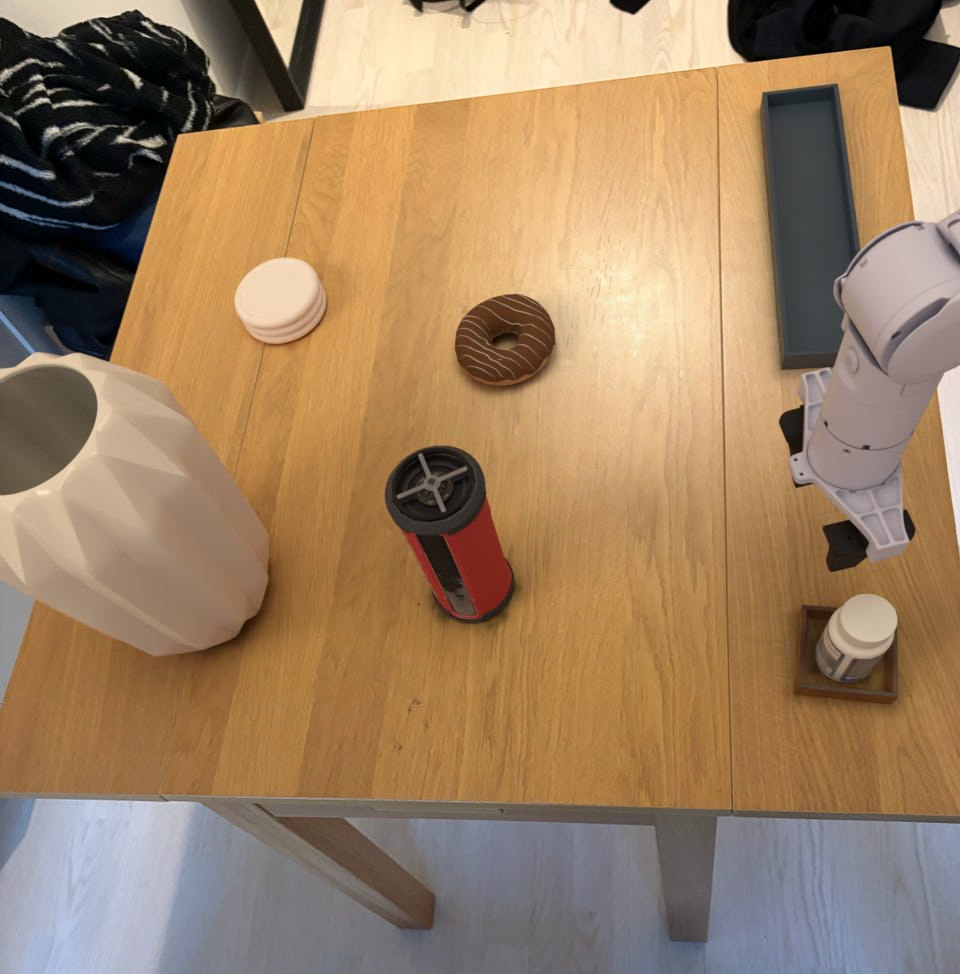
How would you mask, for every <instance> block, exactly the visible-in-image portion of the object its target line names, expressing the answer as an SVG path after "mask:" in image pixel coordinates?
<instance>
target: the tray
mask: <svg viewBox="0 0 960 974" xmlns="http://www.w3.org/2000/svg"><path fill="white" fill-rule="evenodd" d="M841 102H842V101H841V94H840V88H839V83H838V82H837V83H828V84H821V85H812V86H804V87H795V88H787V89H779V90H771V91H763V92H762V93H761V99H760V105H759V106H760V107H759V114H760V127H761V137H762V139H761V140H762V151H763V161H764V174H765V187H766V200H767V211H768V212H767V213H768V224H769V237H770V248H771V249H770V250H771V259H772V271H773V273H772V274H773V285H774V286H773V287H774V298H775V308H776V311H775V312H776V321H777V322H776V323H777V333H778V335H777V336H778V345H779V359H780V369H781V370H796V369H816V368H827V367H830V368H831V367H834V365H835V362H836V358H837V355H838V352H839V349H840V346H841V343H842V340H843V337H844V334H845V332H844V331H843V330H842V328H841V324H842V321H843V318H844V314H845V311H843V310H842V309H841V308H840V306H839V305H838V303H837V301H836V300H835V297H834V292H833V289H834V283H835V280H836V279H837V278H838V277H840V276H842V275H843V274H844V273H845V272H846V271H847V269H848V267H849V265H850V263H851V262H852V260H853V259H854V258H855V256H856V255H857V254H858V253H859V252H860V250H861V244H860V243H861V242H860V237H859V228H858V220H857V214H856V213H857V212H856V205H855V199H854V198H855V197H854V192H853V183H852V177H851V167H850V162H849V154H848V145H847V140H846V132H845V125H844V117H843V110H842V103H841Z"/></svg>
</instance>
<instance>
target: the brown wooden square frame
mask: <svg viewBox="0 0 960 974" xmlns="http://www.w3.org/2000/svg"><path fill="white" fill-rule="evenodd" d="M839 608H840V607H836V606H835V607H834V606H821V605H812V604H811V605H810V604H802V605H801V607H800V610H799V611H798V615H797V617H798V618H797V641H796V663H795V664H796V665H795V668H796V669H795V685H794V687H795V691H794V694H795V695H800V696H809V697H810V696H811V697H819V698H820V697H821V698H829V699H838V700H848V701H858V702H867V703H875V704H885V705H892V704H893V703H894V702H895V701H896V700H897V699H898V698H899V691H898V690H899V687H898V680H899V679H898V675H899V673H898V672H899V671H898V670H899V669H898V665H899V664H898V625H897V626H896V629H895V631H894V638H893V642H892V644H891V646H890V647H889V649H888V650H887V651H886V652H885V691H884V690H883V691H882V690H874V689H872V690H871V689H863V688H853V687H842V686H833V685H823V684H816V683H815V684H814V683H805V678H806V677H805V676H806V675H805V674H806V668H805V667H806V648H807V647H806V646H807V622H808V621H807V619H815V620H827V621H829V620H830V618H831V616H832V615H833V614H834V612H835V611H836V610H837V609H839ZM896 614H897V615H898V612H896Z"/></svg>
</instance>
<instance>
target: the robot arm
mask: <svg viewBox="0 0 960 974" xmlns="http://www.w3.org/2000/svg"><path fill="white" fill-rule="evenodd" d="M833 292H834V297H835V300H836V301H837V303H838V305H839V306H840V308H841V309H842V310H843V311H845V314H844V318H843V321H842V324H841V328H842V330H843V331H844V332H845V334H844V337H843V340H842V343H841V346H840V349H839V352H838V355H837V358H836V362H835V365H834V366H833V368H832V369H831V367H822V368H819V369H816V370H813V371H808V372H804V373H802V374H801V375H800V378H799V382H798V385H797V390H796V393H797V396H798V398H799V400H800V401H801V402H802V404H800V405H799V407H795V408H793V409H789V410H786V411H784V412H783V413H782V414H781V415H780V417H779V419H778V425H779V427H780V430H781V432H782V434H783V437H784V439H785V442H786V443H787V445H788V450H789V460H788V463H787V465H788V469H789V472H790V474H791V480H792V483H793V485H794V488H795V489H799V488H803V487H807V486H812V485H815V487H816V488H818V489H819V491H821V493H822V494H824V495H825V497H827V499H829V501H831V503H832V504H833V505H834V506H835V507H836V508H837V509H838V510H839V511H840V512H841V513H842V514H843V515H844V516H845V517H846V518H847V519H845V520H840V521H837V522H832V523H829V524H825V525H823V526H822V528H821V530H822V533H823V534H824V537H825V540H826V542H827V545H828V550H827V554H826V557H825V563H826V566H827V569H828V571H829V573H834V572H839V571H844V570H848V569H852V568H856V567H857V566H858V565H860V564H861V563H862V562H863V561H865V560H866V559H867V558H868V560H869V562H870V563H871V564H872V563H876V562H882V561H885V560H889V559H892V558H897V557H902V555H903V553H904V551H905V550H906V548H907V546H908V545H909V543H910V542H911V541H912V540H913V538H914V537H915V536H916V526H915V523H914V521H913V519H912V517H911V514H910V512H909V511H908V509H905V508H904V488H903V483H904V482H903V456H904V453H905V451H906V449H907V447H908V445H909V444H910V442H911V440H912V439H913V436H914V434H915V432H916V430H917V428H918V426H919V424H920V423H921V421H922V419H923V416H924V414H925V412H926V411H927V409H928V406H929V404H930V403H931V401H932V399H933V397H934V395H935V393H936V392H937V391H936V390H937V388H939V384H940V382H941V381H942V379H943V378H944V375H945V374H946V373H947V372H949V371H951V370H953V369H956V368H958V367H959V366H960V208H959V209H957V210H956V211H953V213H951V214H949V215H947V216H945V217H944V218H943V219H941V220H939V221H938V222H925V221H923V220H911V221H910V220H909V221H905V222H902V223H900V224H896V225H894V226H892V227H889V228H888V229H886V230H884V231H882V232H881V233H879V234H878V235H876V236H875V237H873V239H871V240H870V241H868V243H866V244H865V245H864V246H863V247H862V248H860V252H859V253H858V254H857V255H856V256H855V258H854V259H853V260H852V262H851V263H850V265H849V267H848V269H847V271H846V272H845V273H844V274H843V275H842V276H840V277H838V278H837V279H836V280H835V283H834V289H833Z"/></svg>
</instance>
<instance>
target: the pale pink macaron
mask: <svg viewBox="0 0 960 974" xmlns="http://www.w3.org/2000/svg"><path fill="white" fill-rule="evenodd" d="M234 293H235V294H234V302H233V303H234V308H235V312H236V314H237V316H238V318H239V319H240V321H241V322H242V324H243V326H244V327H245V329H246V331H247V332H248V333H249V334H250V335H251V336H252V337H253V338H254V339H256V340H258V341H260V342H262V343H266V344H271V345H272V344H273V345H278V344H279V345H280V344H286V343H290V342H293V341H296V340H298V339H300V338H302V337H304V336H306V335H307V334H308V333H309V332H311V331H313V329H314V328H315V327H316V326H317V325H318V324H319V323H320V322H321V320H322V318H323V317H324V314H325V312H326V308H327V294H326V291H325V288H324V287H323V284H322V281H321V279H320V278H319V275H318V273H317V271H316V269H314V267H313V266H312V265H311V264H310V263H308V262H307V261H305V260H302V259H299V258H296V257H277V258H273V259H269V260H267V261H264V262H261V263H260V264H258V265H256V266H255V267H254V268H252V269H251V270H250V271H249V272H248V273H246V274H245V276H244V277H243V278H242V279H241V280H240V283H239V284H238V286H237V288H236V291H235V292H234Z"/></svg>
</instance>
